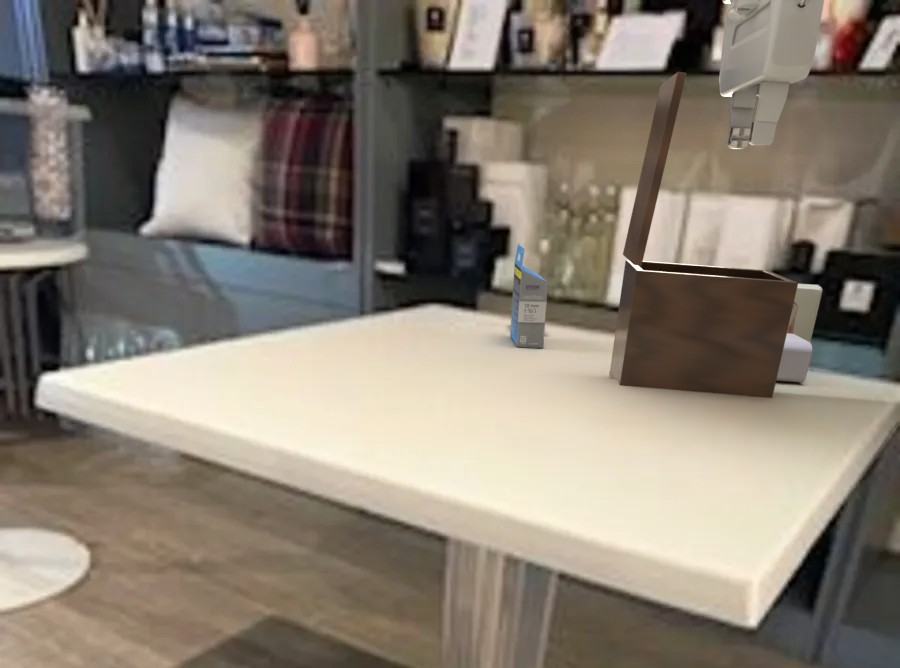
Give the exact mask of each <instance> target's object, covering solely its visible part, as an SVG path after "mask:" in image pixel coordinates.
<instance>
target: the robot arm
mask: <svg viewBox="0 0 900 668" xmlns="http://www.w3.org/2000/svg"><path fill="white" fill-rule="evenodd" d="M824 2H825V0H722V3H723V4H726V5H728V6H727V9H726V14H725V18H724V19H725V20H724V25H723V26H724V27H723V36H722V44H721V45H722V46H721V57H720V66H719V79H718V80H719V84H718V85H719V93H720V95H721V96H722V97H727V98H730V103H729V130H728V136H727V142H726V145H727V148H729V149H731V150H732V149H733V150H745V149H746V148H747V147H749V145H750V146H757V147H768V146H771V145H772V144H773V143H774V140H775V135H776V131H777V125H778V122H779V120H780V118H781V114H782V112H783V109H784V107H785V105H786V102H787V100H788V95H789V89H790V85H792V84H795V83H797V82H801V81H803V80H805V79H807V78H808V76H809V74H810V71H811V70H812V66H813V64H814V60H815V56H816V50H817V47H818V46H817V45H818V40H819V35H820V34H819V33H820V28H821V22H822V16H823V10H824V4H825V3H824ZM757 99H758V102H757ZM756 103H757V106H756ZM755 107H756V111H755V114H754V120H753V121H752V119H753V113H754V109H755Z"/></svg>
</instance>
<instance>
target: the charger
mask: <svg viewBox="0 0 900 668" xmlns="http://www.w3.org/2000/svg"><path fill="white" fill-rule="evenodd" d="M812 354H813V345H812V343H811V342H808V341H806V340H804V339H802V338H800V337H798V336H797V335H795V334H788V333H787V335H786V340H785V344H784V348H783V353H782V357H781V362H780V366H779V371H778V375H777V379H776V382H788V383H804V382H805V381H806V379H807V377H808V376H807V375H808V371H809V368H810V363H811V359H812Z"/></svg>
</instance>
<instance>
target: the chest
mask: <svg viewBox="0 0 900 668" xmlns="http://www.w3.org/2000/svg"><path fill="white" fill-rule="evenodd" d="M623 269H624V270H623V274H622V275H623V276H622V283H621V284H622V285H621V290H620V297H619V304H618V311H617V319H616V325H615V332H614V339H613V347H612V353H611V359H610V360H611V362H610V369H609V375H608V376H609V379H610V380H617V382H618V384H619V386H622V387H624V386H625V387H634V388H647V389H659V390H671V391H682V392H683V391H684V392H696V393H707V394H718V395H729V396H730V395H732V396H743V397H754V398H766V399H773V398H774V397H773V396H774V393H775V388H776V383H777V381H776V379H777V375H778V371H779V366H780V362H781V357H782V353H783V348H784V344H785V340H786V335H787V331H788V326H789V322H790V317H791V313H792V308H793V304H794V300H795V295H796V291H797V286H798V284H799V282H797V281H795V280H792V279H790V278H787V277H785V276H782V275H780V274H777V273H775V272H772V271H770V270H767V269H755V268H744V267H743V268H741V267H728V266H715V265H700V264H689V263H688V264H687V263H674V262H661V261H648V260H643V262H642V266H637V265H633V264H632V263H631V262H630V261H629V260H628V259H625V262H624V268H623Z"/></svg>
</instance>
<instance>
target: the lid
mask: <svg viewBox="0 0 900 668" xmlns="http://www.w3.org/2000/svg"><path fill="white" fill-rule="evenodd" d="M686 76H687V72H681V71H677V72H676V73H675V74H673V75H671V76H670V77H669V78H668V79H667V80H665V81H664V82H663V83H662V84H661V85H660V86H659V91H658V95H657V99H656V104H655V108H654V113H653V118H652V122H651V127H650V131H649V135H648V141H647V144H646V149H645V153H644V157H643V161H642V167H641V172H640V175H639V180H638V185H637V188H636V193H635V198H634V202H633V207H632V211H631V217H630V219H629V220H630V221H629V224H628V229H627V234H626V239H625V243H624V247H623V251H622V256H624V257H625V258H626V260H629V261H630V262H631V263H632V264H633V265H637V266H642V262H643V261H644V257H645V253H646V248H647V245H648V240H649V236H650V231H651V228H652V222H653V219H654V215H655V211H656V206H657V202H658V198H659V192H660V189H661V185H662V180H663V176H664V171H665V168H666V163H667V158H668V154H669V150H670V146H671V142H672V136H673V134H674V128H675V124H676V121H677V117H678V112H679V108H680V103H681V98H682V94H683V91H684V86H685V82H686V78H687V77H686Z"/></svg>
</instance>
